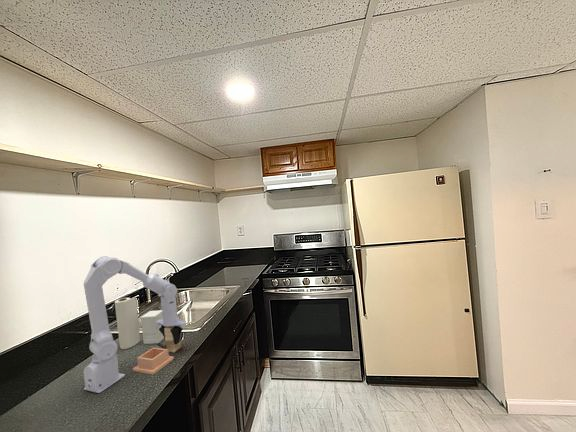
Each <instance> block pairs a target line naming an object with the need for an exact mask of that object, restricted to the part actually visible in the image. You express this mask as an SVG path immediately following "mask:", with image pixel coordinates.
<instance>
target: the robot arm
mask: <svg viewBox="0 0 576 432" xmlns="http://www.w3.org/2000/svg"><path fill="white" fill-rule="evenodd" d="M117 274H119V275H122V274H126V275H127V276H130V277H132V278H134V279H136V280H139V281H140V282H141V283H142V285H143V287H144V288H146V289H148V290H150V291H152V292H154V293H155V294H157V295H158V296H160V305H161V310H162V315H163V319H159V320H158V321H156V324H157V326H159V325H161V328H159V331H160V332H161V333H162V334H163V336H164V339H165V333H164V328H165V327H167V326H174V328H172V329H171V330H170V331H171V333H172V335H173V338H174V343H175V344H178V343H179V342H180V343H181V335H182V332H183V329H184V328H186V327H187V322H186V321H184V320H181V319H180V317H178V307H177V299H176V295H177V294H178V288H177V287H176V285H175V284H173V283H170V282H169V280H168V279H163V278H161V277H160V274H157V273H150V274H147V273H146V272H144V271H143V270H141V269H139V268H138V267H135V266H134V265H132V264H131V263H129V262H127V261H124V260H121V259H119V258H116V257H110V256H100V257H99V258H96V260H95V261H94V262H93V263H92V264H91V265H90V269H89V271H88V274H87V276H86V278H85V279H84V281H83V290H84V295H85V299H86V305H87V311H88V316H89V317H88V318H89V323H90V327H91V334H90V343H89V350H90V352H91V353H93V355H92V358H91V362H90V363H89V364H88V365H86V366H85V367H84V369H83V378H84V379H83V381H84V388H83V389H84V390H85V391H89V392H91V393H92V392H93V393H97V394H101V393H102V392H104V391H105V390H107V389H108V388H109V387H111V386H112V385H114V384H116V383H117V382H118V381H120V380H121V379H122V378H124V377H125V376H126V374H124V373H122V372H121V373H120V371H119V363H118V361H119V360H118V354H117V352H118V344H117V342H116V341H115V340H114V337H113V336H114V335H113V334H112V332H111V330H110V324H109V319H108V313H107V307H106V302H105V295H104V290H103V286H104V285H105V283H107V282H108V281H109V279H111V278H113V277H114V276H116V275H117Z"/></svg>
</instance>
